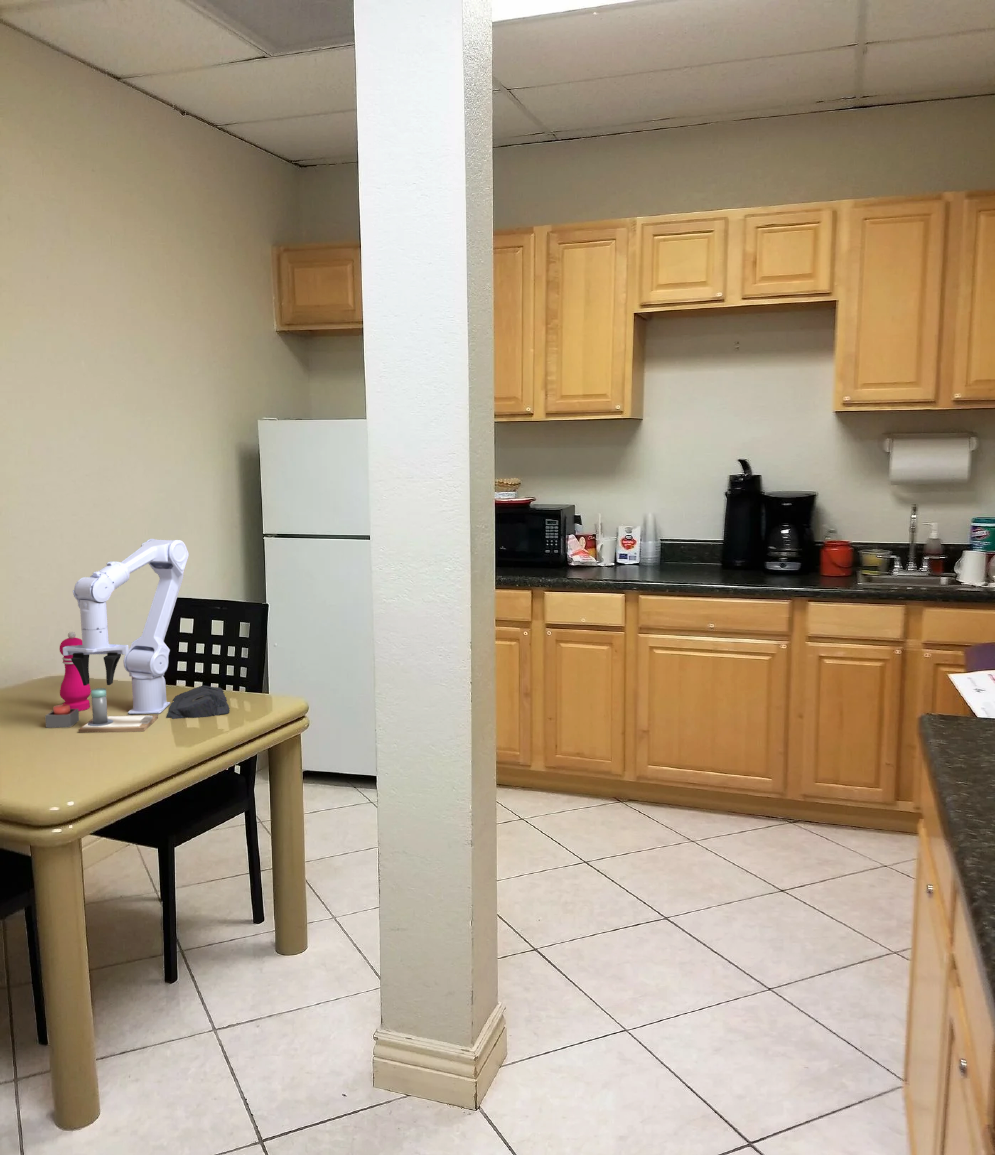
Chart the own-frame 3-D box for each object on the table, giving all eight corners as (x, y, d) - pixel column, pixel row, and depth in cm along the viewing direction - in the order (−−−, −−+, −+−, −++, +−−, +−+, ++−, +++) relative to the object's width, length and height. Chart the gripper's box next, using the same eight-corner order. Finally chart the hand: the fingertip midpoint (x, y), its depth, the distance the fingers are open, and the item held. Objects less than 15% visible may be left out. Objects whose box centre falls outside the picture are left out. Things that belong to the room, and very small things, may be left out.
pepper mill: (54, 711, 236) (49, 633, 234) (73, 704, 243) (68, 628, 241) (79, 713, 235) (74, 635, 232) (98, 705, 242) (93, 629, 239)
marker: (95, 720, 224) (93, 688, 223) (109, 720, 224) (108, 687, 223) (90, 724, 221) (88, 691, 220) (105, 724, 221) (103, 691, 220)
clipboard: (95, 719, 229) (95, 713, 229) (158, 718, 230) (157, 711, 230) (78, 732, 218) (78, 726, 218) (144, 731, 219) (143, 724, 219)
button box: (55, 721, 228) (54, 709, 227) (79, 720, 228) (78, 708, 228) (46, 727, 222) (45, 715, 222) (70, 727, 223) (69, 715, 222)
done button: (57, 712, 227) (56, 704, 226) (72, 712, 227) (72, 704, 227) (51, 716, 223) (50, 708, 223) (66, 716, 223) (66, 708, 223)
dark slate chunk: (231, 695, 253) (230, 678, 253) (229, 717, 232) (228, 698, 232) (171, 699, 249) (170, 682, 249) (164, 722, 228) (163, 703, 228)
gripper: (56, 631, 215) (60, 689, 217) (120, 630, 216) (123, 687, 218) (68, 626, 222) (71, 681, 224) (130, 625, 223) (133, 680, 225)
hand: (98, 684), depth 221 cm, fingers open, 5 cm apart
